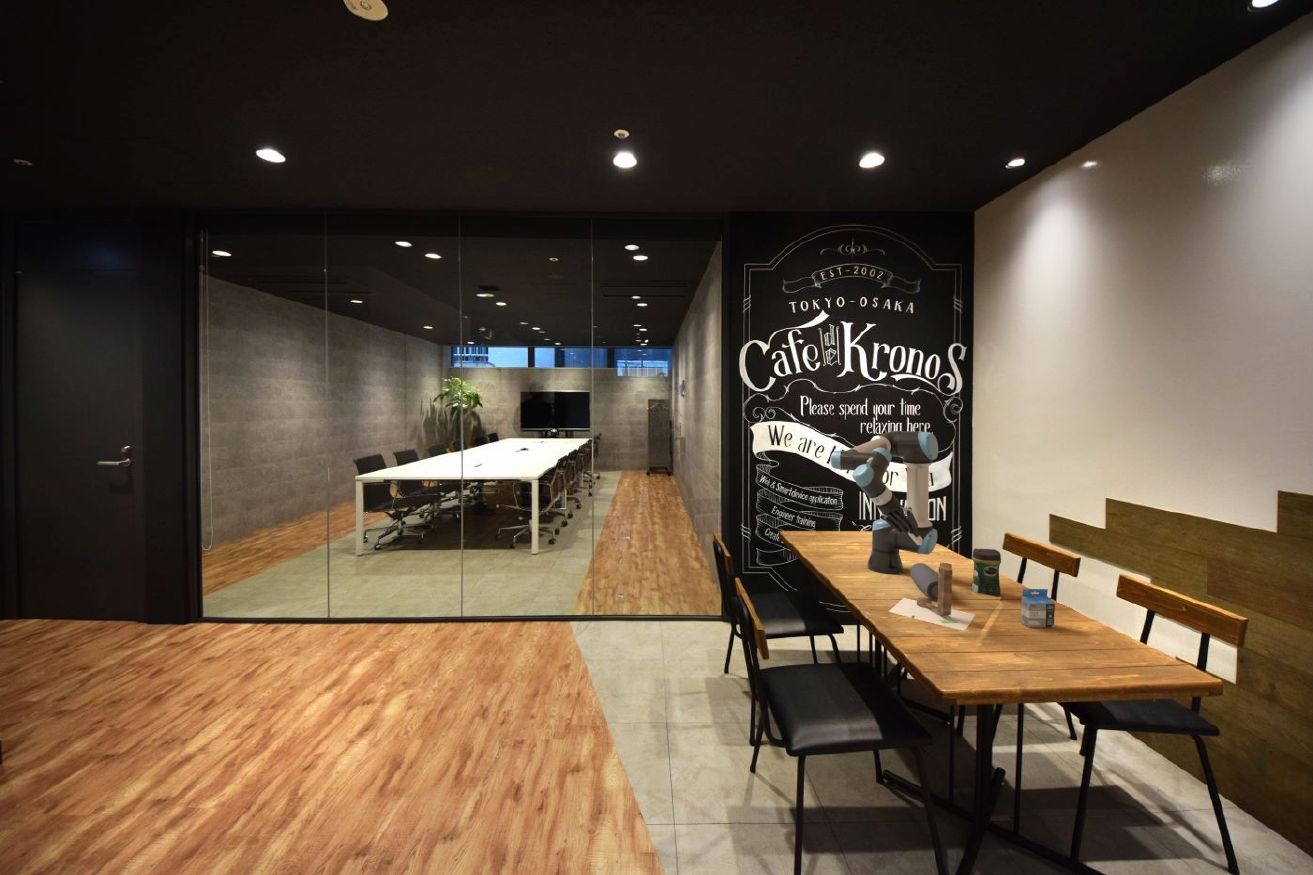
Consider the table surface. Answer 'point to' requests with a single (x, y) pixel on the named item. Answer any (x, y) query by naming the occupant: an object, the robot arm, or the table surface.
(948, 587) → the wooden l-shaped block
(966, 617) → the white flat sheet
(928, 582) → the bluetooth speaker
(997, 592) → the coffee jar
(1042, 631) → the table surface
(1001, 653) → the table surface
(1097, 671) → the table surface
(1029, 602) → the label tape box
